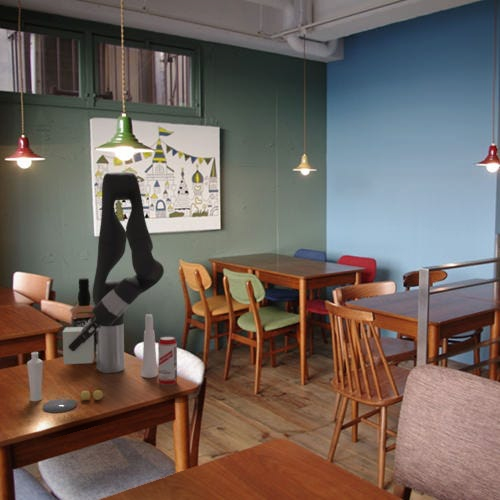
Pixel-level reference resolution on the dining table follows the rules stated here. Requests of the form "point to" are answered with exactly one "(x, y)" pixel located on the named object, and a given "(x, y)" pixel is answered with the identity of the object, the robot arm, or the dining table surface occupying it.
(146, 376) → the cosmetic bottle
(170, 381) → the beer can
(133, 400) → the dining table surface
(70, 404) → the coaster
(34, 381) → the perfume bottle
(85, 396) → the ball
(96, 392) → the ball
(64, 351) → the pale grey rectangular box
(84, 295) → the whiskey bottle
